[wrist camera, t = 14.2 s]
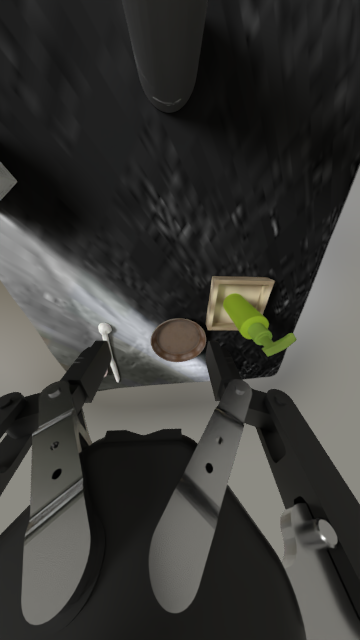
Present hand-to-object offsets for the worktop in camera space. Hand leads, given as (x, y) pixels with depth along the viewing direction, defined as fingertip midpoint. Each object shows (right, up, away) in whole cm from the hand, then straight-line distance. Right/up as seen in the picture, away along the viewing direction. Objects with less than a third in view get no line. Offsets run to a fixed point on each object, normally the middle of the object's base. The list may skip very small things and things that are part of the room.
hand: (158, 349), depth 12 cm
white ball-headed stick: (-22, -10, +41) cm, 48 cm away
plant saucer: (+1, -3, +38) cm, 38 cm away
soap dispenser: (+17, +8, +30) cm, 36 cm away
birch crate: (+18, +8, +31) cm, 37 cm away
